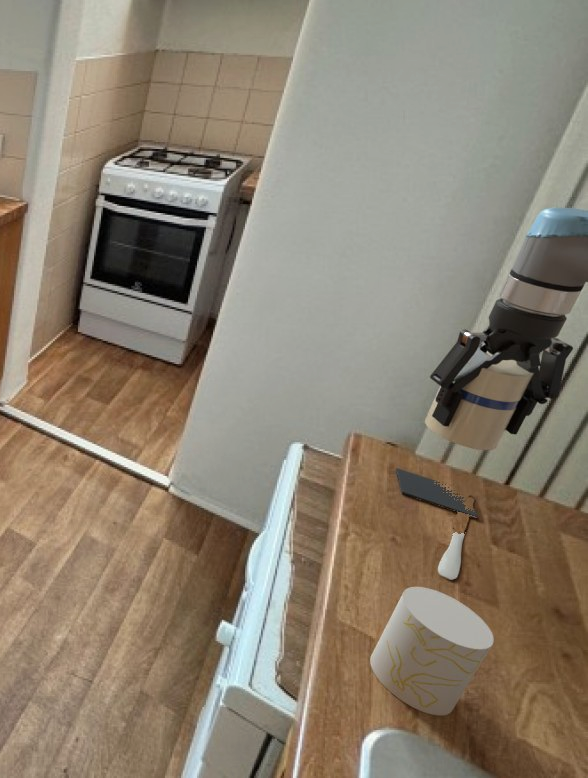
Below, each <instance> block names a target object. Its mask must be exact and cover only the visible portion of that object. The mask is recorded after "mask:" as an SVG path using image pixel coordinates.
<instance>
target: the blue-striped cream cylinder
mask: <svg viewBox="0 0 588 778" xmlns="http://www.w3.org/2000/svg"><path fill="white" fill-rule="evenodd" d="M486 353H487V354H488V355H489V356H493V355H492V354H490V353H489V352H488V351H487V352H486ZM467 364H472V363H470V362H469V361H468V363H467ZM533 375H534V373H530V372H528V371H526V370H525V369H523V368H522V367H520V366H518V365H517V363H516V361H514V360H502V361H501V362H500V363H499V364H496V365H494V364H493V365H491V366H490V367H489V368H482V370H481V372H480V374H479V376H477V377H476V378H475V379H474V380H472V381H471V382H470V383H468V384H467V385H466V386H465V387H463V388H462V389H461V390H460V391H461V392H462V393H463V394H464V395H463V397H462V400H461V402H460V404H459V406H458V408H457V410H456V412H455V414H454V416H453V418H452V420H451V423H450V425H449V427H448V426H443V425H442V424H441V423H439V422H438V421H437V420H436V419H435V418H434V417H432V415H433V412H434V410H435V408H436V406H437V404H438V403H437V402H436V397H437V395H438V392H439V390H440V388H441V386H440V385H439V387H438V390H437V392H436V394H435V397H434V399H433V401H432V403H431V405H430V408H429V409H428V412H427V415H426V417H425V419H424V424H425V426H426V427H427V428H428V430H430V431H431V432H433V433H434V434H435V435H437V436H439V437H441V438H442V439H444V440H447V441H448V442H451V443H454V444H456V445H458V446H462V447H465V448H468V449H473V450H477V451H492V450H495V449H496V448H498V446H499V444H500V442H501V440H502V438H503V435H504V434H505V432H506V428H507V426H508V424H509V422H510V420H511V418H512V416H513V414H514V412H515V410H516V408H517V406H518V404H519V402H520V400H521V398H522V396H523V394H524V392H525V390H526V388H527V386H528V384H529V382H530V380H531V379H532V377H533ZM454 383H455V381H454Z"/></svg>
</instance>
